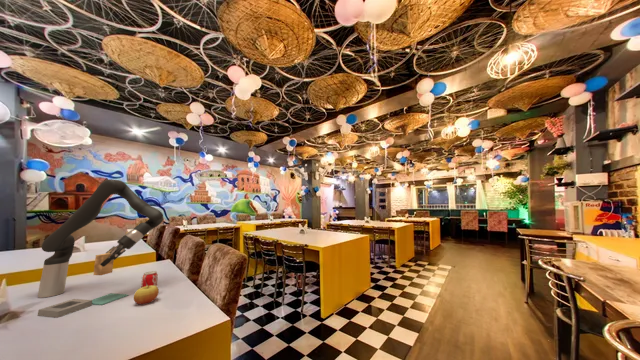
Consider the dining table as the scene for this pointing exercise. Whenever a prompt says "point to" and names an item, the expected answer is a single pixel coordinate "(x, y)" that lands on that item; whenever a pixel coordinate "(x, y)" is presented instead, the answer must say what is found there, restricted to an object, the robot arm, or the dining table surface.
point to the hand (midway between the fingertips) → (99, 264)
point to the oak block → (100, 269)
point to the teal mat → (107, 298)
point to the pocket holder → (64, 308)
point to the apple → (146, 294)
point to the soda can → (149, 279)
